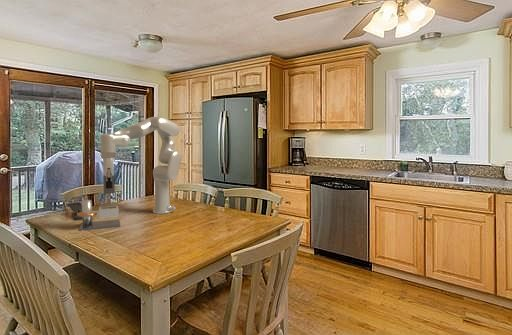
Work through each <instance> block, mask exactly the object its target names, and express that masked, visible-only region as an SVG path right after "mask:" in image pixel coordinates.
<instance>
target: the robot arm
mask: <svg viewBox="0 0 512 335" xmlns="http://www.w3.org/2000/svg"><path fill="white" fill-rule="evenodd" d="M154 131H156V132H157V134H158V135H159V137H160V139H161V146H160V150H159V155H158V161H159V162H160V163H161V164H164V165H161V164H160V165H157V166H155V167H154V168H153V169H152V176H153V180H154V181H153V184H154V209H153V210H152V213H153V214H156V215H157V214H159V215H160V214H162V215H163V214H169V213H172V212H173V211H174V210H176V206H172V204H170V183H169V181H174V180H176V179H177V177H178V175H179V170H180V165H181V160H182V155H181V154H180V152H179V151H177V150H175V144H176V143H175V139H174V138H173V137H176V136H178V135H179V134H180V132H181V131H180V126H179V125H178V124H177V123H176V122H174V121H171V120H170V119H167V118H165V117H162V116H151V117H148V118H147V119H146V118H145V119H144V120H141V121H140V122H138V123H135V124H133V125H130V126H127V127H125V128H121V129H119V130H116V131H114V132H112V133H102V134H101V135H100V159H102V174H103V176H105V175H106V188H112V176H113V175H114V159H117V158H116V155H117V154H116V152H117V151H116V150H117V148H118V147H119V148H125V147H127V146H129V145H130V144H131V140H133V139H139V138H144V137H145V136H147V135H149V134H150V133H152V132H154ZM107 175H108V176H107ZM110 175H111V176H110ZM103 176H102V177H103Z"/></svg>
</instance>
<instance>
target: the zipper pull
mask: <svg viewBox="0 0 512 335" xmlns="http://www.w3.org/2000/svg"><path fill="white" fill-rule="evenodd" d="M67 206H68V207H69V208H70V209H71V210H72V211H73V212H72V214H71V216H72V219H73V220H74V221H83V219H82V217H78V216H77V213H79V212H82V202H79V201H77V202H72V203H71V202H69V203H67Z"/></svg>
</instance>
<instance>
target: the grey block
mask: <svg viewBox="0 0 512 335" xmlns="http://www.w3.org/2000/svg"><path fill="white" fill-rule="evenodd" d="M107 176H108V175H107ZM110 176H111V175H110ZM102 177H103V178H102V179H103V182H102V183H103V194H104V195H106V194H107V195H108V194H115V193H116V191H115V190H116V189H115V175H114V174H113V176H112V188H106V175H105V176H102Z"/></svg>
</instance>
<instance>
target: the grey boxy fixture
mask: <svg viewBox="0 0 512 335" xmlns="http://www.w3.org/2000/svg"><path fill="white" fill-rule="evenodd" d="M81 204H82V212H79V213H77V216H78V217H82V219H83V220H82V222H81V223H80V226H79V231H80V232H81V231H82V230H83V231H91V230H92V229H93V230H99V229H101V230H103V229H108V228H109V229H110V228H120V227H121V223H120V219H112V220H111V219H110V218H119V217H120V213H119V212H120V211H119V209H120V208H119V205H111V206H99V207H98V210H93V203H92V199H83V200H82V201H81ZM93 216H99V217H98V218H99V221H93ZM100 219H101V220H100ZM102 219H107V220H102ZM108 219H109V220H108Z"/></svg>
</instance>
